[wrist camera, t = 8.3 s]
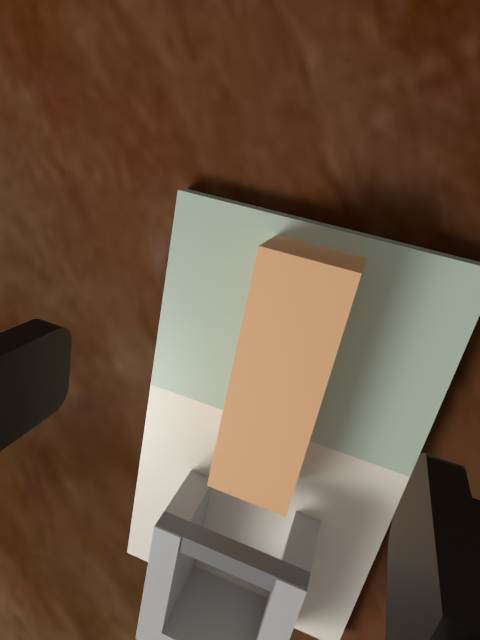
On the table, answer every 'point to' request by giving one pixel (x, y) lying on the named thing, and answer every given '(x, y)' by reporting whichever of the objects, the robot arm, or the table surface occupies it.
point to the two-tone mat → (325, 443)
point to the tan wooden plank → (282, 368)
